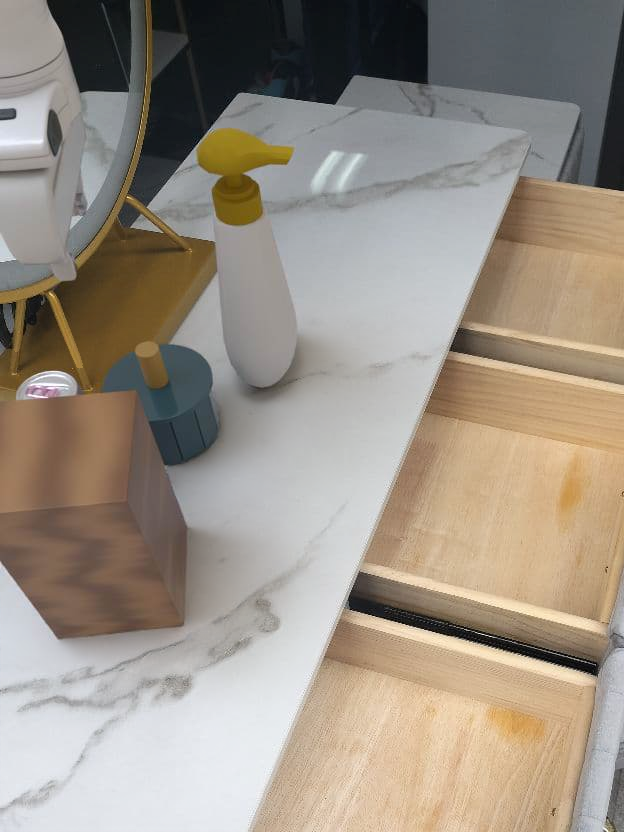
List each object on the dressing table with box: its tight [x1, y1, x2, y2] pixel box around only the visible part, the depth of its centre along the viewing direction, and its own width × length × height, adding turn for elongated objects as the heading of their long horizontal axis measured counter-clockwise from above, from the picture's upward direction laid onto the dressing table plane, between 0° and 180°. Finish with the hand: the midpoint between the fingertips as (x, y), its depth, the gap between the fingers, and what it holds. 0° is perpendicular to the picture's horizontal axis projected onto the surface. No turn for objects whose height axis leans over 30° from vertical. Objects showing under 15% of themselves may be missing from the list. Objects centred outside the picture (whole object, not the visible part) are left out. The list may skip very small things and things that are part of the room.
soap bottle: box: [195, 127, 298, 389], centre depth 88 cm, size 13×10×29 cm
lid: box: [102, 340, 214, 425], centre depth 86 cm, size 12×12×5 cm
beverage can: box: [15, 370, 85, 400], centre depth 82 cm, size 6×6×15 cm
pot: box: [150, 388, 221, 466], centre depth 91 cm, size 11×11×7 cm
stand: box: [0, 390, 188, 640], centre depth 74 cm, size 12×12×20 cm
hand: (73, 242), depth 75 cm, fingers open, 8 cm apart
